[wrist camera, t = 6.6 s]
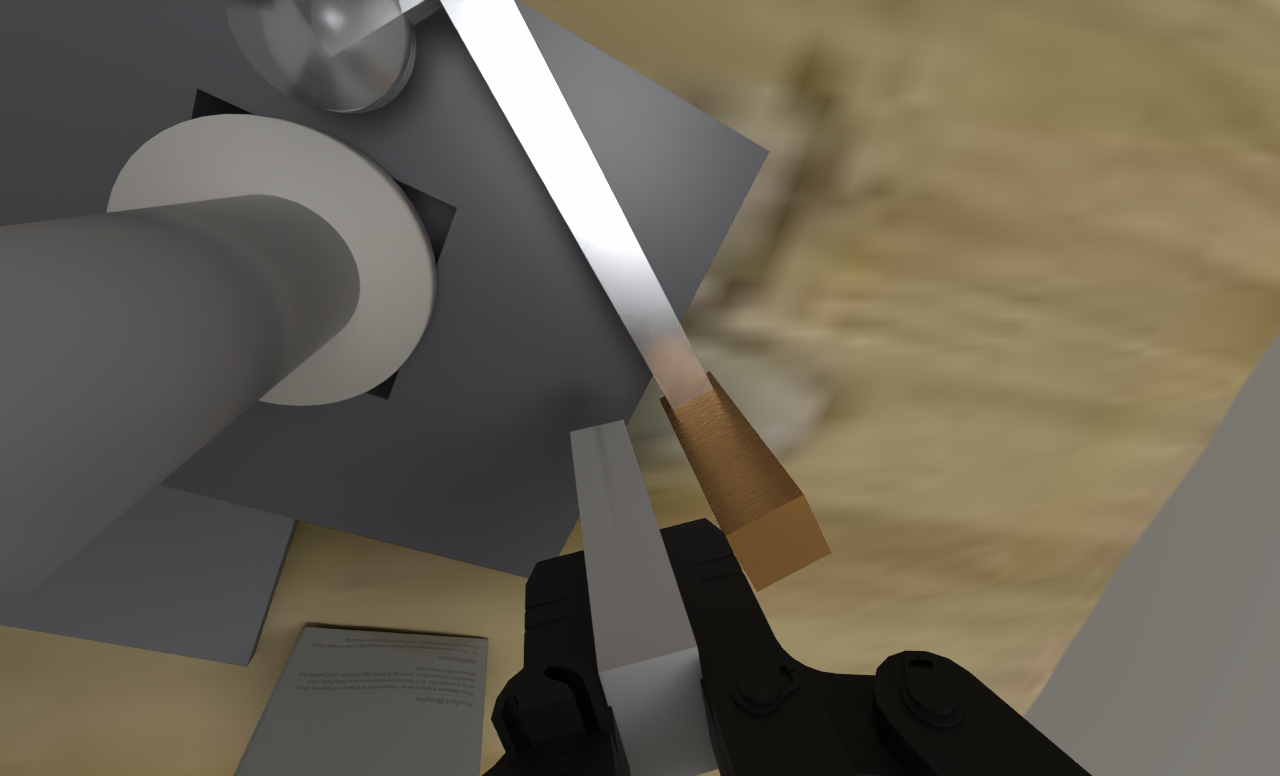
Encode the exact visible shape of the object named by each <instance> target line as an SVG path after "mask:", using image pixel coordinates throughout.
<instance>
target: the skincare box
mask: <svg viewBox="0 0 1280 776" xmlns="http://www.w3.org/2000/svg"><path fill="white" fill-rule="evenodd" d="M487 653H488V640H487V639H481V638H465V637H448V636H434V635H419V634H404V633H389V632H374V631H359V630H343V629H328V628H316V627H305V628H303V630H302V631H301V633H300V635H299V637H298V639H297V641H296V643H295V645H294V647H293V649H292V651H291V654H290V656H289V658H288V660H287V662H286V664H285V666H284V669H283V671H282V673H281V675H280V677H279V679H278V681H277V684H276V686H275V688H274V690H273V692H272V694H271V697H270V699H269V701H268V703H267V705H266V707H265V709H264V711H263V713H262V716H261V718H260V720H259V722H258V724H257V726H256V728H255V730H254V733H253V735H252V737H251V739H250V741H249V743H248V745H247V747H246V750H245V752H244V754H243V756H242V758H241V760H240V762H239V764H238V767H237V769H236V771H235V773H234V775H233V776H480V762H481V747H482V730H483V715H484V700H485V685H486V669H487Z"/></svg>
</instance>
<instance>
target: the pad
mask: <svg viewBox="0 0 1280 776" xmlns="http://www.w3.org/2000/svg"><path fill="white" fill-rule="evenodd" d="M297 522H298V520H296V519H292V518H288V517H284V516H280V515H277V514H273V513H269V512H265V511H261V510H257V509H253V508H249V507H245V506H241V505H237V504H233V503H229V502H225V501H221V500H217V499H213V498H209V497H205V496H202V495H198V494H194V493H190V492H186V491H182V490H178V489H174V488H170V487H166V486H162V485H157V486H156V487H155V488H153V489H152V490H151V491H150V492H149V493H148V494H146V495H145V496H144V497H143V498H142V499H140V500H139V501H138V502H137V503H136V504H134V505H133V506H132V507H131V508H130V509H129V510H127V511H126V512H125V513H124V514H123V515H121V516H120V517H119V518H118V519H117V520H116V521H114V522H113V523H112V524H111V525H110V526H108V527H107V528H106V529H105V530H104V531H102V532H101V533H100V534H99V535H98V536H97V537H95V538H94V539H93V540H92V541H91V542H89V543H88V544H87V545H86V546H85V547H83V548H82V549H81V550H80V551H79V552H78V553H76V554H75V555H74V556H73V557H72V558H70V559H69V560H68V561H67V562H66V563H65V564H63V565H62V566H61V567H60V568H59V569H57V570H56V571H55V572H54V573H53V574H51V575H50V576H49V577H48V578H47V579H46V580H44V581H43V582H42V583H41V584H40V585H38V586H37V587H36V588H35V589H34V590H32V591H31V592H30V593H29V594H28V595H27V596H25V597H24V598H23V599H22V600H21V601H19V602H18V603H17V604H16V605H15V606H14V607H12V608H11V609H10V610H8V611H6V612H5V613H3V614H1V615H0V625H6V626H12V627H17V628H23V629H29V630H35V631H41V632H47V633H53V634H59V635H64V636H70V637H76V638H82V639H88V640H94V641H100V642H106V643H111V644H117V645H123V646H129V647H135V648H141V649H147V650H153V651H159V652H164V653H170V654H176V655H182V656H188V657H194V658H200V659H206V660H211V661H217V662H223V663H229V664H235V665H241V666H248V664H249V663H250V661H251V659H252V657H253V656H254V653H255V650H256V647H257V644H258V641H259V638H260V635H261V632H262V629H263V626H264V623H265V620H266V617H267V614H268V610H269V607H270V604H271V601H272V598H273V595H274V592H275V589H276V586H277V583H278V580H279V577H280V574H281V571H282V568H283V565H284V562H285V558H286V555H287V552H288V549H289V546H290V543H291V540H292V537H293V534H294V531H295V528H296V525H297Z"/></svg>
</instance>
